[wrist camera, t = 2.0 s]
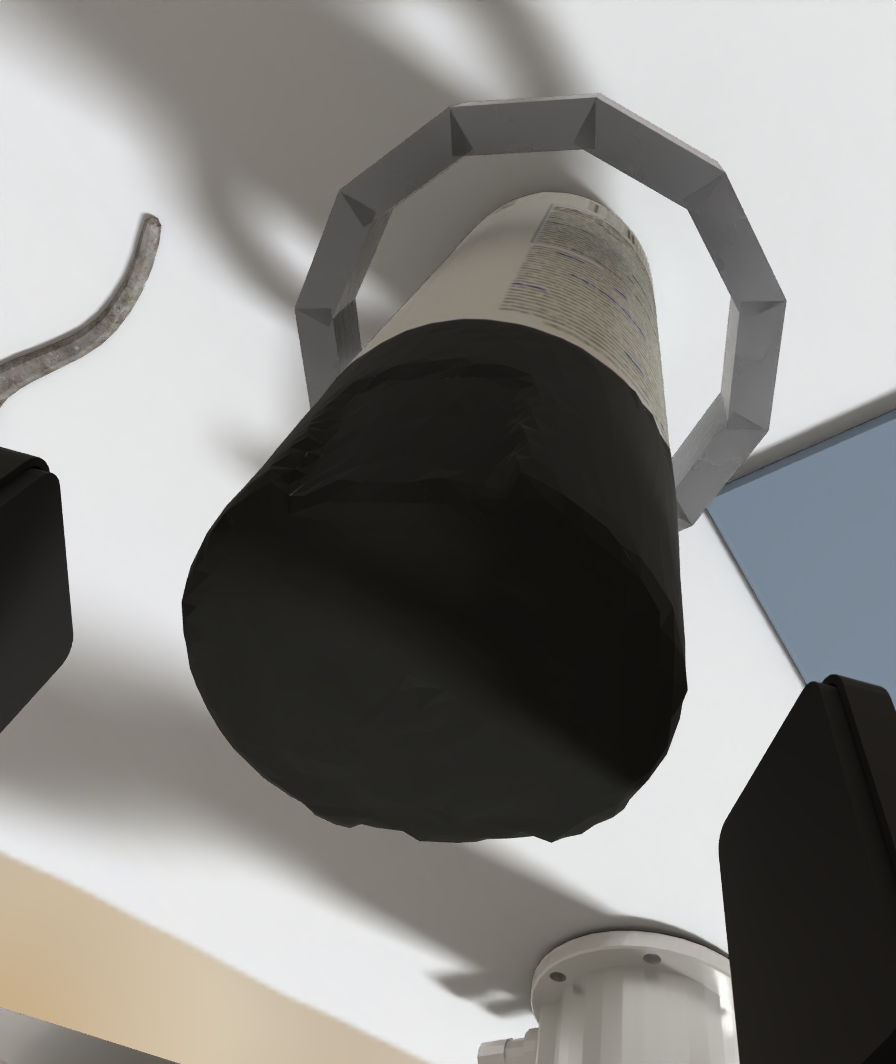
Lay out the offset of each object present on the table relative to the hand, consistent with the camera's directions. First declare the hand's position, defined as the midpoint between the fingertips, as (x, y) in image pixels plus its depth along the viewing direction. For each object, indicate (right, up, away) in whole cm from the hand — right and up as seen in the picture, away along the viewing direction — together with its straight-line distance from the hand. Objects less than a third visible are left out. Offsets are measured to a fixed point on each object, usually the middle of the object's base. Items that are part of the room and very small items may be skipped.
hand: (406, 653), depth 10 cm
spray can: (+4, +10, +17) cm, 20 cm away
